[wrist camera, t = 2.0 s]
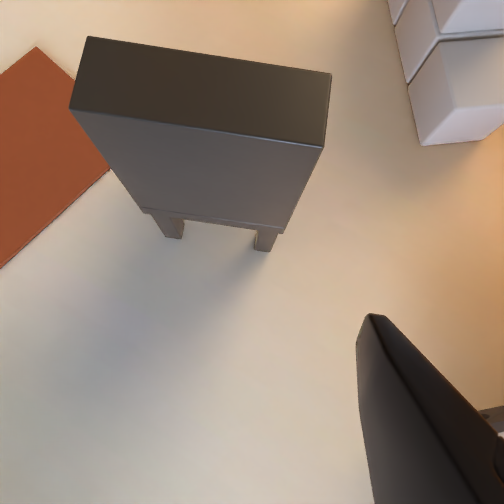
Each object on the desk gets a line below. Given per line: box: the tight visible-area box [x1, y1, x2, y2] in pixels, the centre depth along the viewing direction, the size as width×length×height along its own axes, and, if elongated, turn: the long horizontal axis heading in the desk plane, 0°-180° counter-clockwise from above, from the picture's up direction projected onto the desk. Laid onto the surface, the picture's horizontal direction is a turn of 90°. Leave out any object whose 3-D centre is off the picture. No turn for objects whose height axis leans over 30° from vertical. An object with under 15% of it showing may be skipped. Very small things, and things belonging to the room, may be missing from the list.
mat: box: [0, 47, 111, 268], centre depth 22 cm, size 8×12×1 cm
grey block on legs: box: [68, 36, 332, 252], centre depth 16 cm, size 6×6×13 cm
